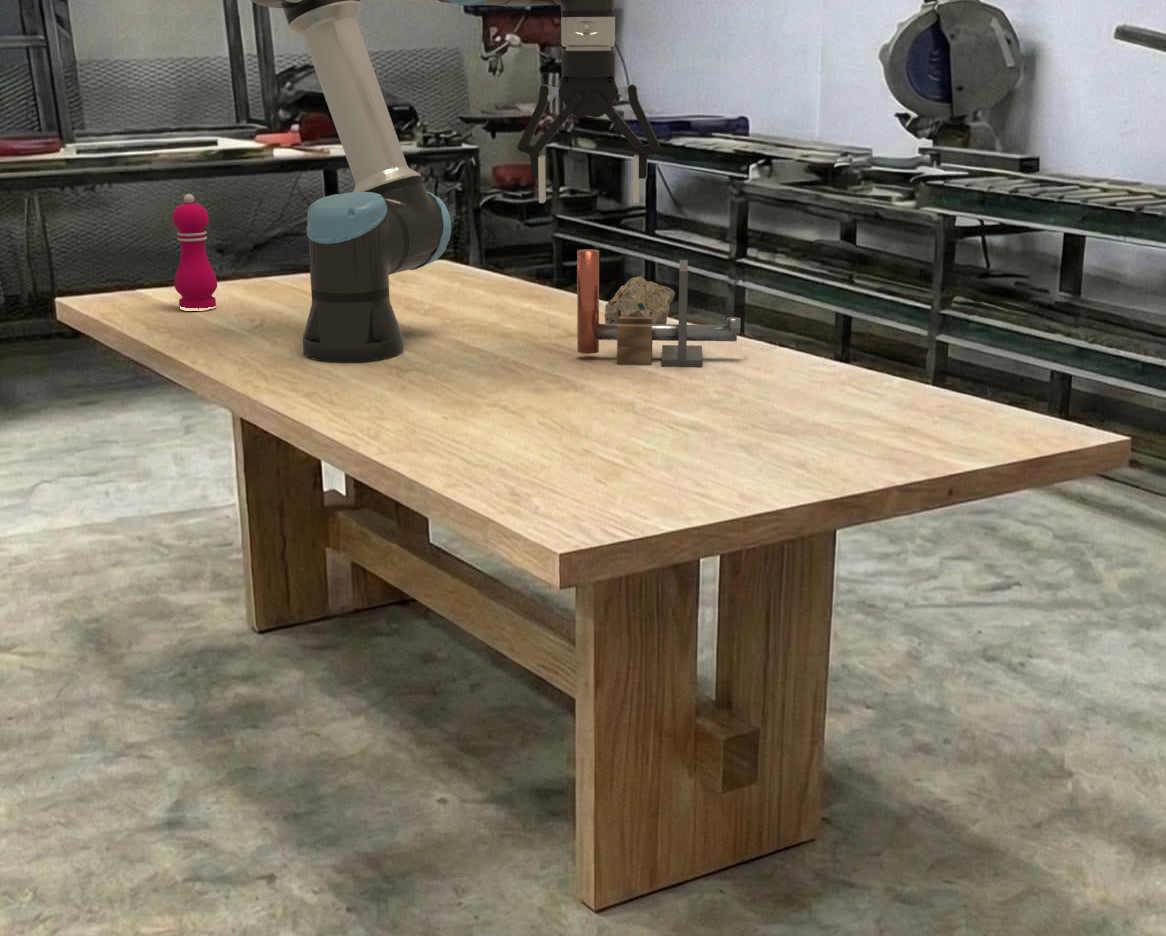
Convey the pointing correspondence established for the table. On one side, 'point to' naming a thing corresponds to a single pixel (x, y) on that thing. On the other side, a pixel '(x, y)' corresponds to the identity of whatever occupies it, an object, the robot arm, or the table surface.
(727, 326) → the hook
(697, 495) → the table surface
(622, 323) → the cradle
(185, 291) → the pepper mill
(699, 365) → the eye bracket
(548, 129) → the robot arm
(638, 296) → the rock
